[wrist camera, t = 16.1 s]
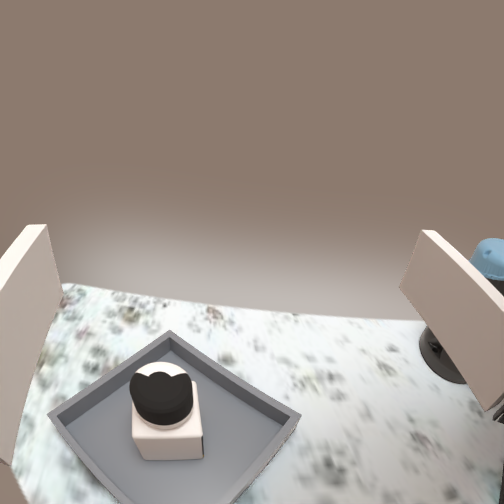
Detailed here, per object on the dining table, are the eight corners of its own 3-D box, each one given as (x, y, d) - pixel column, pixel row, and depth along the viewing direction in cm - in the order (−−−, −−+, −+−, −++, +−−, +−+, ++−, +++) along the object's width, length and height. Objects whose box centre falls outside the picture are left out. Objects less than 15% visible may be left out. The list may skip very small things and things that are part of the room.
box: (294, 429, 36) (301, 415, 34) (182, 553, 20) (178, 551, 18) (171, 347, 46) (169, 329, 44) (58, 429, 30) (46, 414, 28)
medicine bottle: (204, 459, 30) (202, 413, 24) (143, 461, 29) (120, 414, 23) (197, 410, 36) (194, 351, 30) (142, 411, 35) (124, 353, 28)
